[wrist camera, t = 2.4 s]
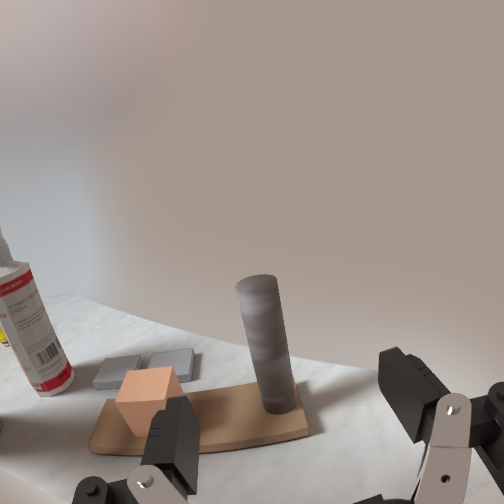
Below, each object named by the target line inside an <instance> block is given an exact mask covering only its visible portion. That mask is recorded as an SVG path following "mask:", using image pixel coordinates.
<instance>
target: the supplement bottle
mask: <svg viewBox="0 0 504 504" xmlns="http://www.w3.org/2000/svg"><path fill="white" fill-rule="evenodd" d="M0 341H1V343H2V345H4V346H9V345H10V344H9V342H8V340H7V338H6V336H5V334H4V332H3V329H2V327H1V325H0Z"/></svg>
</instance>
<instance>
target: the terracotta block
mask: <svg viewBox="0 0 504 504" xmlns="http://www.w3.org/2000/svg"><path fill="white" fill-rule="evenodd" d="M177 396H185V395H184V393H183V390H182V388H181V386H180V383H179V381H178V378H177V376H176V373H175V371H174V368H173V366H168V367H160V368H151V369H142V370H132V371H127V374H126V376H125V378H124V381H123V383H122V385H121V388H120V390H119V393H118V395H117V398H116V400H115V404H116V406H117V408H118V409H119V411H120V413H121V414H122V416H123V418H124V419H125V421H126V423H127V424H128V426H129V427H130V429H131V430H132V432H133V434H134V435H135V437H148V432H149V430H150V429H149V428H150V424H151V420H152V418H153V417H154V415H155V414H156V413H157V411H158V410H165V407H166V402H167V399H168V398H169V397H177Z"/></svg>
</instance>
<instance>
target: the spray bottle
mask: <svg viewBox="0 0 504 504" xmlns="http://www.w3.org/2000/svg"><path fill="white" fill-rule="evenodd" d="M0 325H1V327H2V329H3V332H4V334H5V336H6V338H7V340H8V342H9V344H10V346H11V348H12V350H13V352H14V354H15V356H16V358H17V360H18V362H19V364H20V366H21V368H22V369H23V371H24V373H25V375H26V376H27V378H28V380H29V382H30V383H31V385H32V387H33V388H34V390H35V391H36V393H37V394H38V395H39V396H40V397H52V396H54V395H56V394H58V393H61V392H63V391H65V390H66V389H67V388H68V387H69V386H70V384H71V383H72V382H73V381H74V375H75V373H74V371H73V369H72V367H71V365H70V363H69V361H68V359H67V357H66V355H65V353H64V351H63V349H62V347H61V345H60V343H59V340H58V338H57V336H56V334H55V332H54V329H53V327H52V325H51V322H50V320H49V318H48V315H47V313H46V310H45V308H44V305H43V303H42V300H41V298H40V295H39V293H38V290H37V287H36V284H35V281H34V278H33V276H32V272H31V269H30V266H29V263H27V262H24V263H23V262H17V261H13V259H12V256H11V254H10V251H9V248H8V245H7V244H6V241H5V240H4V238H3V237H2V233H1V229H0Z"/></svg>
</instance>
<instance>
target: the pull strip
mask: <svg viewBox="0 0 504 504" xmlns="http://www.w3.org/2000/svg"><path fill="white" fill-rule="evenodd" d="M235 288H236V292H237V297H238V301H239V305H240V310H241V314H242V319H243V323H244V327H245V331H246V336H247V340H248V344H249V349H250V353H251V357H252V361H253V365H254V370H255V374H256V378H257V382H255V383H250V384H244V385H239V386H233V387H227V388H220V389H213V390H206V391H199V392H191V393H184V395H185V396H187V397H188V399H189V401H190V404H191V406H192V408H193V410H194V413H195V415H196V417H197V419H198V422H199V426H200V445H199V453H206V452H216V451H225V450H233V449H240V448H247V447H253V446H259V445H265V444H271V443H276V442H281V441H286V440H290V439H295V438H299V437H304V436H308V435H310V433H309V426H308V423H307V420H306V417H305V413H304V410H303V407H302V404H301V401H300V397H299V394H298V391H297V388H296V384H295V381H294V378H293V375H292V370H291V364H290V357H289V351H288V345H287V339H286V332H285V326H284V320H283V315H282V308H281V302H280V296H279V290H278V284H277V279H276V277H275V276H272V275H255V276H250V277H247V278H245V279H243V280H241V281H239V282H238V283H237V284H236V286H235ZM115 400H116V399H107V400H106V403H105V405H104V407H103V410H102V412H101V414H100V417H99V419H98V422H97V424H96V426H95V429H94V431H93V434H92V436H91V439H90V441H89V444H88V448H89V449H90V450H91V451H92V453H96V454H111V455H143V452H144V448H145V444H146V440H147V438H148V437H135V435H134V434H133V432H132V430H131V429H130V427H129V426H128V424H127V423H126V421H125V419H124V418H123V416H122V414H121V413H120V411H119V409H118V408H117V406H116V404H115Z"/></svg>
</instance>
